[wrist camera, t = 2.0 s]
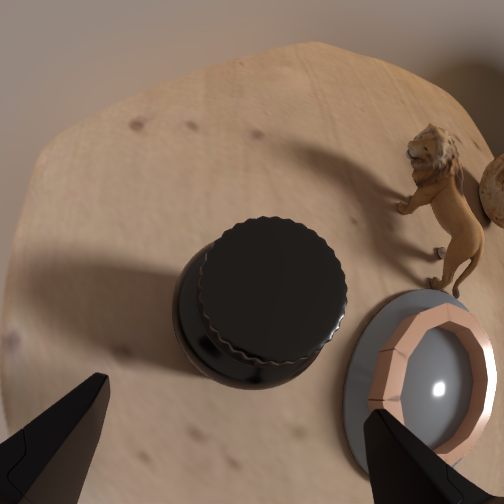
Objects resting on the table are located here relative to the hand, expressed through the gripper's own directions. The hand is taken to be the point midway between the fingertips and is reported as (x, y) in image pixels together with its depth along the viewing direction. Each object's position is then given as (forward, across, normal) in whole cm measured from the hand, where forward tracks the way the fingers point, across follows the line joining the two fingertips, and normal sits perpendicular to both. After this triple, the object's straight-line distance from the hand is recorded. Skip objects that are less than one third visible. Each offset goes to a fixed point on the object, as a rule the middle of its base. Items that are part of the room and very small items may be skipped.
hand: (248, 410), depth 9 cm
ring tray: (+8, -18, +7) cm, 21 cm away
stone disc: (+25, -31, -9) cm, 41 cm away
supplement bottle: (+11, 0, +5) cm, 12 cm away
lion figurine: (+19, -17, -4) cm, 26 cm away
